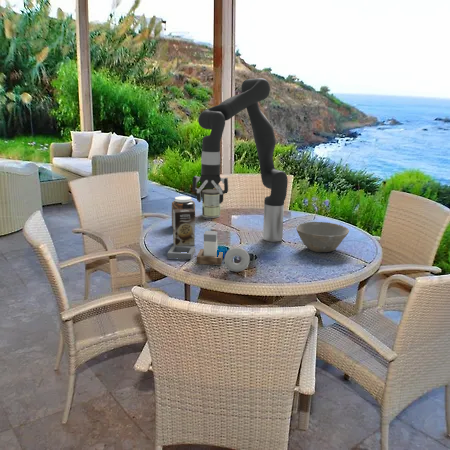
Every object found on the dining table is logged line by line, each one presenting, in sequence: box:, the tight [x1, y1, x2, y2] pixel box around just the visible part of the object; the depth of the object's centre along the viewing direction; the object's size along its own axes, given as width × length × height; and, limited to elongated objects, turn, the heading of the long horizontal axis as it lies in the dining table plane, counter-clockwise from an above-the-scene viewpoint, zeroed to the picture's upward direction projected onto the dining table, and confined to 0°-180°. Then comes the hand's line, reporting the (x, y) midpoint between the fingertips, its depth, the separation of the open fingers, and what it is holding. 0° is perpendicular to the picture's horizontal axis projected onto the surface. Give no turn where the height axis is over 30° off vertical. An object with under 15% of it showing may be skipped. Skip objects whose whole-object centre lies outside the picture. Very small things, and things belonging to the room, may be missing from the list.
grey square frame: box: [167, 245, 196, 260], centre depth 212 cm, size 10×10×2 cm
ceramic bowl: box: [296, 221, 350, 253], centre depth 222 cm, size 22×23×10 cm
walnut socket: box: [196, 248, 224, 266], centre depth 207 cm, size 10×10×3 cm
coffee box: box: [172, 209, 196, 247], centre depth 225 cm, size 9×6×16 cm
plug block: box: [203, 230, 219, 257], centre depth 206 cm, size 5×5×12 cm
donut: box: [223, 246, 251, 273], centre depth 194 cm, size 10×4×10 cm, turn 91°
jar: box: [171, 195, 196, 228], centre depth 253 cm, size 12×12×15 cm
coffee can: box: [201, 188, 221, 219], centre depth 275 cm, size 10×10×14 cm
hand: (209, 202), depth 201 cm, fingers open, 8 cm apart
